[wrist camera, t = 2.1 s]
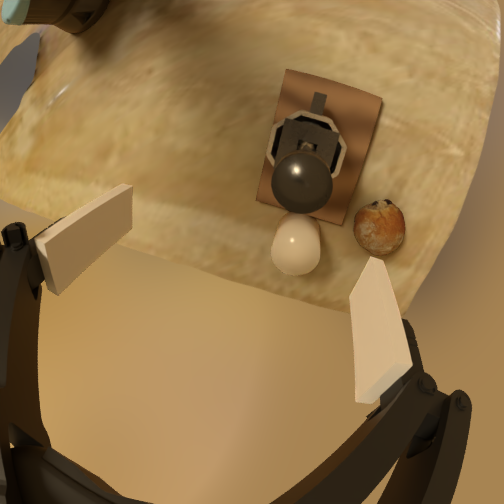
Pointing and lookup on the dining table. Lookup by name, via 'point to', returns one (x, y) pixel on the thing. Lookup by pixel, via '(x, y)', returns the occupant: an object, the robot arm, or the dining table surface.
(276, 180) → the plunger
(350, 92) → the board
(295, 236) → the cream egg shape
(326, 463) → the robot arm
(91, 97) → the dining table surface
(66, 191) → the dining table surface
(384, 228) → the bread roll
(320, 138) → the grey faceted handled container
